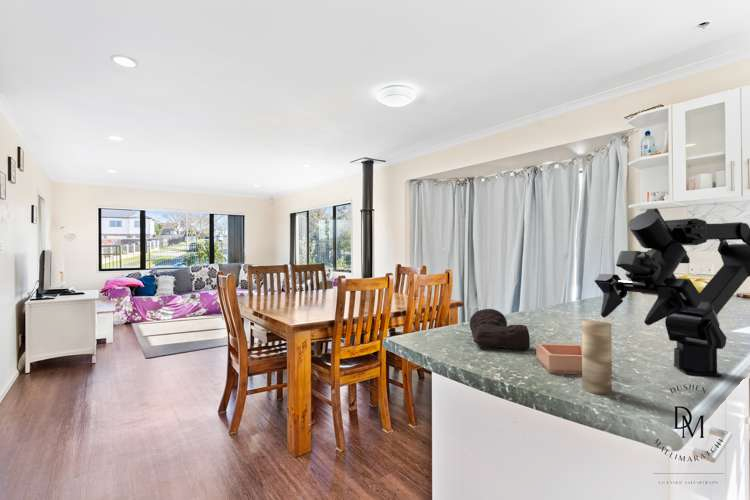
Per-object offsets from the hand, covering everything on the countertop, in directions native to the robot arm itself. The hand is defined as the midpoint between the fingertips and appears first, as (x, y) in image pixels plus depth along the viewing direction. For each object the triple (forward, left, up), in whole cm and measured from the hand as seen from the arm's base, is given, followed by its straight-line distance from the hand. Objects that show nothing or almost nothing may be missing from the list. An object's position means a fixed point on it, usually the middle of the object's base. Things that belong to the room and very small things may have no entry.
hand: (623, 319), depth 78 cm
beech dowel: (+6, +5, -13) cm, 15 cm away
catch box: (+9, -10, -13) cm, 19 cm away
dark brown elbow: (+24, -28, -14) cm, 39 cm away
